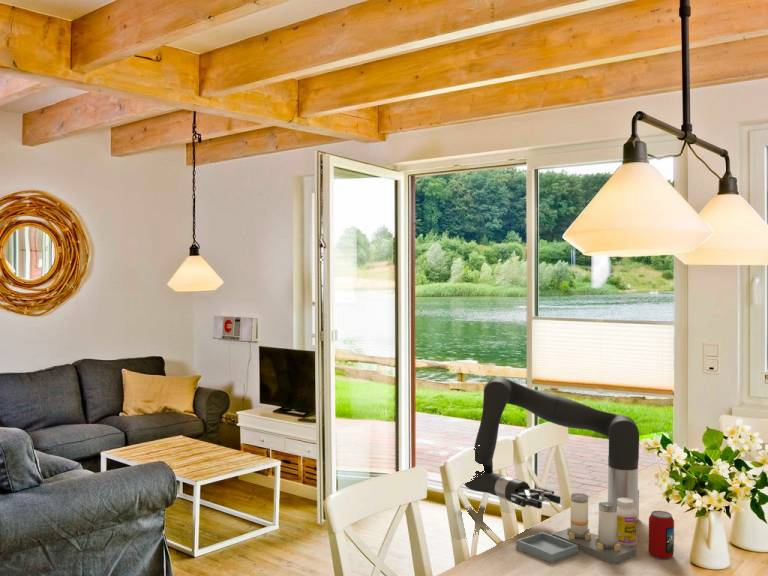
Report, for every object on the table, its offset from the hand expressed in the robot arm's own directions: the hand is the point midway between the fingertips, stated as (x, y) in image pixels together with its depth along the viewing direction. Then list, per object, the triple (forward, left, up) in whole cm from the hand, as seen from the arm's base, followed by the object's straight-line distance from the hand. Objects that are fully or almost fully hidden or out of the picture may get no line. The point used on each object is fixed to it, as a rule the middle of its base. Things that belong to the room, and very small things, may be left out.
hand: (550, 502), depth 226 cm
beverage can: (-11, +31, -9) cm, 34 cm away
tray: (+13, +10, -9) cm, 19 cm away
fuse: (0, +21, -7) cm, 22 cm away
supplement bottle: (-11, +19, -9) cm, 24 cm away
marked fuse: (0, +11, -7) cm, 13 cm away
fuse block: (0, +16, -9) cm, 18 cm away
